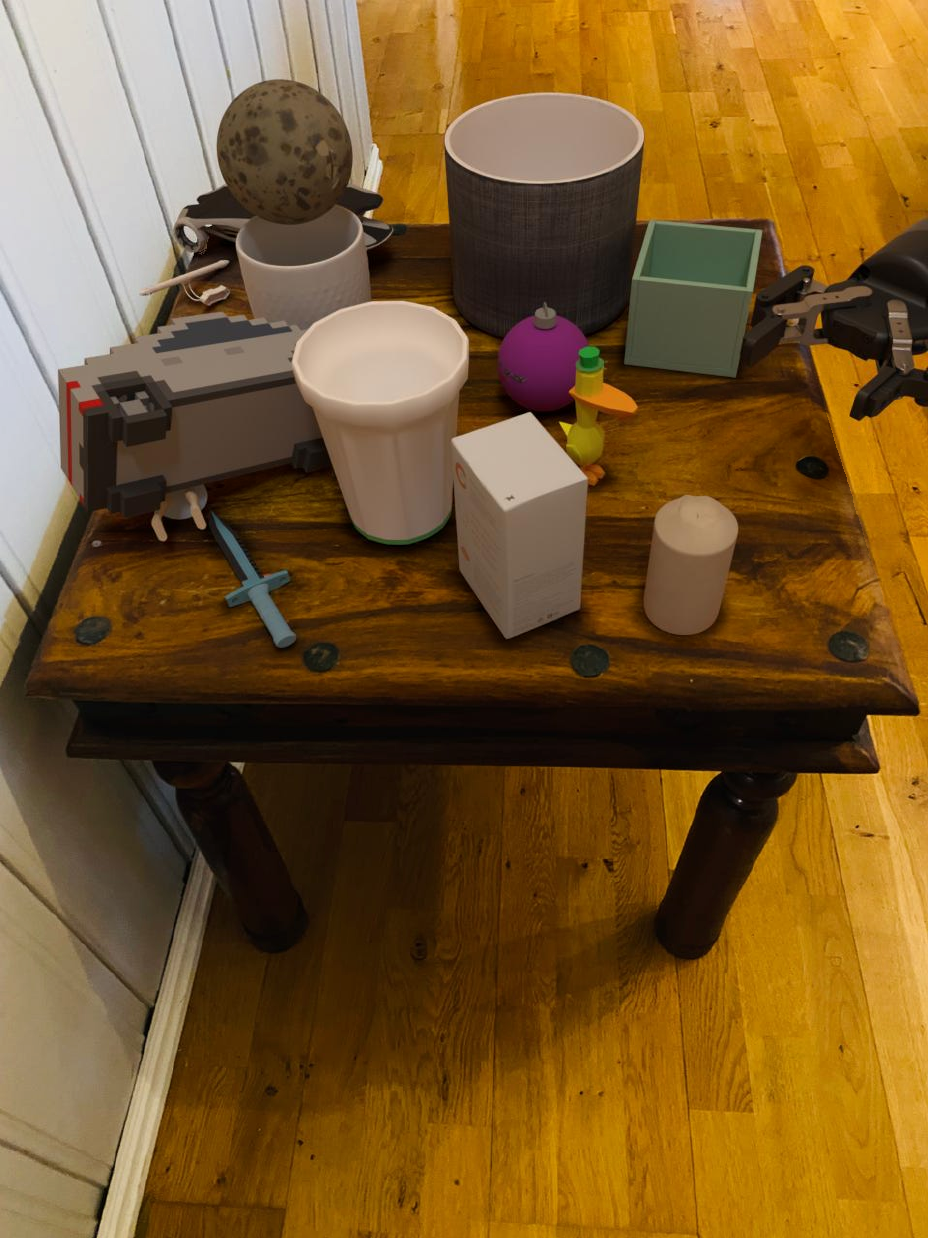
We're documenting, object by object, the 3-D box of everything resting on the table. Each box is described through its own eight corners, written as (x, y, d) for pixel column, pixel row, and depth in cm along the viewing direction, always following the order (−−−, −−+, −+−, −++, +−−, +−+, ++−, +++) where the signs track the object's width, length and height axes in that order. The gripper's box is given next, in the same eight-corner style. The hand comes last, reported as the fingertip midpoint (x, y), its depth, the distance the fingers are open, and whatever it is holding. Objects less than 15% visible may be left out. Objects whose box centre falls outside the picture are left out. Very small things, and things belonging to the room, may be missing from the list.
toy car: (387, 371, 79) (324, 296, 83) (96, 429, 66) (37, 337, 70) (363, 457, 85) (306, 385, 89) (95, 525, 72) (42, 437, 76)
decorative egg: (350, 253, 80) (302, 225, 92) (389, 113, 77) (334, 103, 89) (220, 210, 75) (187, 187, 87) (255, 57, 71) (216, 55, 83)
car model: (159, 222, 105) (176, 267, 109) (355, 231, 96) (367, 280, 99) (218, 178, 112) (231, 222, 115) (406, 183, 102) (415, 230, 106)
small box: (582, 610, 73) (591, 478, 63) (505, 642, 71) (503, 511, 61) (529, 541, 78) (531, 408, 68) (457, 569, 76) (447, 437, 66)
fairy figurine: (261, 529, 78) (249, 461, 87) (241, 477, 75) (231, 413, 84) (118, 573, 77) (121, 499, 86) (92, 522, 74) (98, 452, 83)
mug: (312, 299, 101) (289, 173, 91) (412, 316, 98) (400, 187, 88) (244, 386, 92) (210, 257, 82) (352, 407, 89) (330, 276, 79)
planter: (417, 307, 99) (403, 150, 87) (519, 230, 108) (518, 77, 96) (566, 366, 92) (573, 203, 80) (662, 278, 101) (681, 119, 89)
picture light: (137, 288, 96) (135, 309, 97) (173, 308, 95) (171, 328, 96) (226, 256, 106) (224, 275, 108) (259, 273, 105) (256, 292, 107)
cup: (507, 522, 79) (504, 361, 67) (370, 588, 75) (342, 429, 63) (427, 439, 86) (412, 280, 74) (299, 495, 82) (261, 337, 70)
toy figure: (637, 480, 82) (651, 358, 72) (614, 505, 80) (626, 383, 71) (568, 450, 84) (573, 329, 75) (545, 474, 83) (547, 352, 73)
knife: (179, 515, 81) (236, 492, 82) (183, 526, 81) (239, 503, 83) (255, 649, 70) (319, 620, 71) (259, 660, 71) (322, 631, 72)
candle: (671, 647, 70) (689, 550, 63) (628, 596, 74) (640, 498, 66) (734, 618, 72) (759, 519, 64) (689, 569, 75) (708, 470, 67)
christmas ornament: (598, 424, 86) (605, 325, 79) (506, 436, 86) (504, 337, 78) (578, 368, 92) (583, 270, 84) (491, 379, 91) (488, 282, 84)
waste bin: (745, 314, 96) (762, 229, 89) (735, 377, 90) (753, 291, 83) (640, 303, 98) (649, 219, 91) (623, 364, 92) (631, 278, 85)
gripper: (851, 198, 73) (720, 291, 66) (1040, 267, 66) (915, 378, 60) (827, 288, 79) (704, 382, 72) (998, 360, 72) (880, 472, 65)
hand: (800, 380), depth 66 cm, fingers open, 8 cm apart
